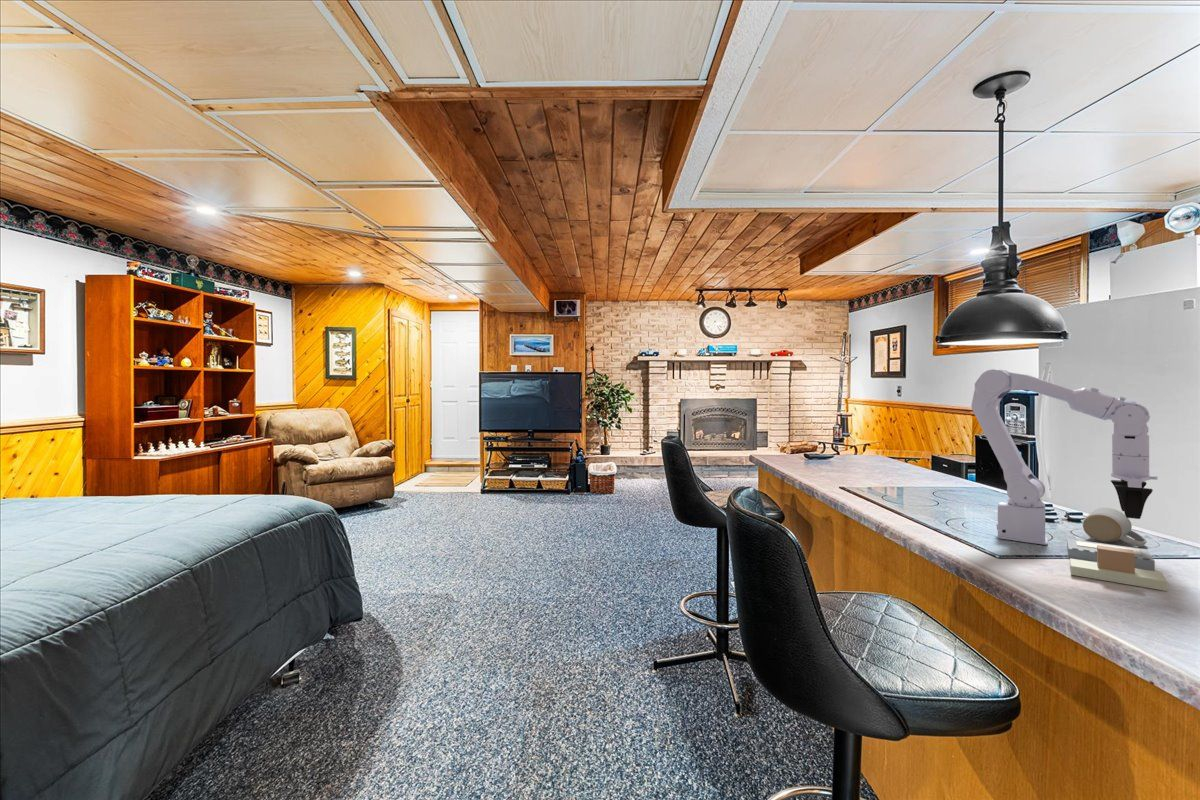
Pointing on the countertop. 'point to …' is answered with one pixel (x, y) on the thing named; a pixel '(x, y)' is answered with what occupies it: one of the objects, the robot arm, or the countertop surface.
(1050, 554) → the countertop surface
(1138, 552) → the board
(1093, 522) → the ceramic mug
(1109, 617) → the countertop surface
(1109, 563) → the stub
